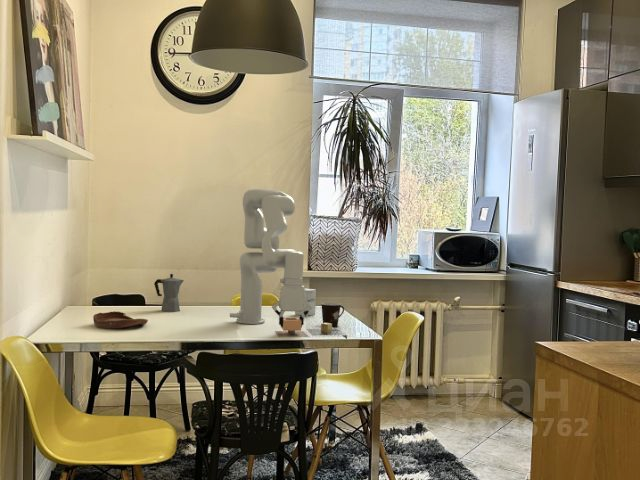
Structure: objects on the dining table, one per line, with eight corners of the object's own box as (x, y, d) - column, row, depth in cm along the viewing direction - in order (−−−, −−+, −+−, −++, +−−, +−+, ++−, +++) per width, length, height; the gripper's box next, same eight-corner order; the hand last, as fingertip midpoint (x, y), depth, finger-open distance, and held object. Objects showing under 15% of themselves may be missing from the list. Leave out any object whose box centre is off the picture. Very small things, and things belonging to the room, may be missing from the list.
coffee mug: (323, 328, 291) (324, 305, 291) (318, 324, 299) (319, 302, 299) (348, 327, 294) (349, 305, 294) (342, 324, 303) (343, 302, 302)
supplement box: (306, 316, 324) (307, 290, 323) (294, 314, 328) (295, 288, 328) (315, 314, 330) (316, 289, 329) (303, 313, 334) (304, 287, 334)
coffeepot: (178, 308, 334) (179, 272, 333) (187, 311, 326) (188, 274, 326) (149, 310, 324) (150, 273, 323) (158, 313, 317) (159, 275, 316)
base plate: (312, 338, 265) (312, 326, 264) (306, 332, 278) (306, 320, 278) (346, 338, 267) (347, 326, 267) (339, 332, 281) (339, 320, 281)
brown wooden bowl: (157, 325, 283) (157, 314, 283) (128, 333, 264) (129, 320, 264) (113, 321, 291) (113, 309, 291) (82, 327, 272) (82, 315, 272)
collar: (283, 330, 262) (283, 320, 262) (281, 327, 269) (281, 317, 269) (301, 330, 264) (301, 320, 263) (298, 327, 270) (298, 317, 270)
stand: (278, 340, 259) (278, 323, 259) (274, 334, 271) (275, 318, 270) (308, 340, 261) (309, 323, 261) (303, 334, 273) (304, 319, 273)
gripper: (272, 283, 260) (270, 328, 261) (316, 284, 263) (314, 328, 264) (270, 280, 267) (268, 324, 268) (312, 281, 271) (310, 325, 272)
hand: (291, 326), depth 266 cm, fingers closed on collar, 7 cm apart
